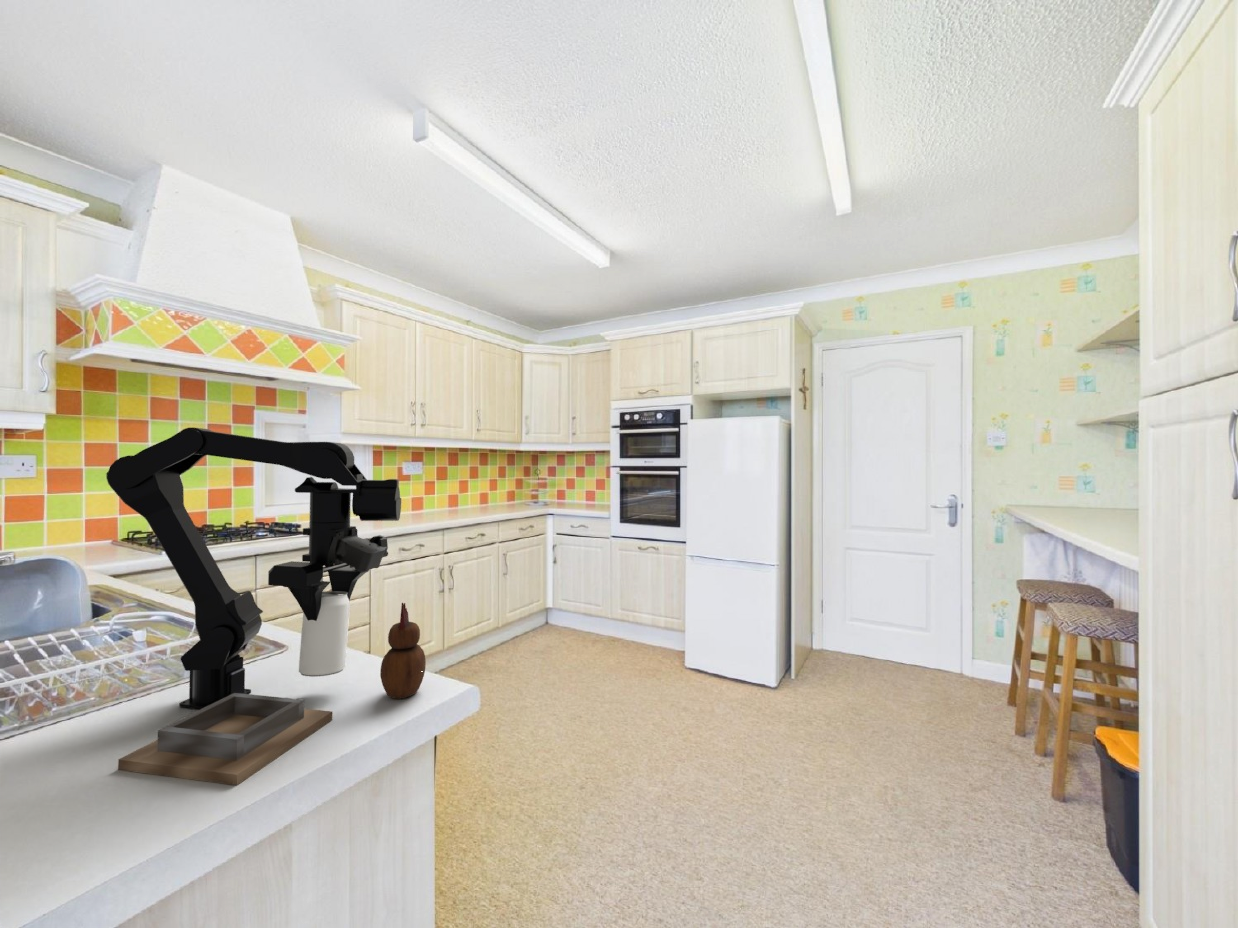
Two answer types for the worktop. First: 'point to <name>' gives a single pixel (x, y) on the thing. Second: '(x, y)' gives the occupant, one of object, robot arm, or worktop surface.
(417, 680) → the wooden figurine
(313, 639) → the can
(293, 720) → the holder
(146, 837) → the worktop surface
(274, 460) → the robot arm
